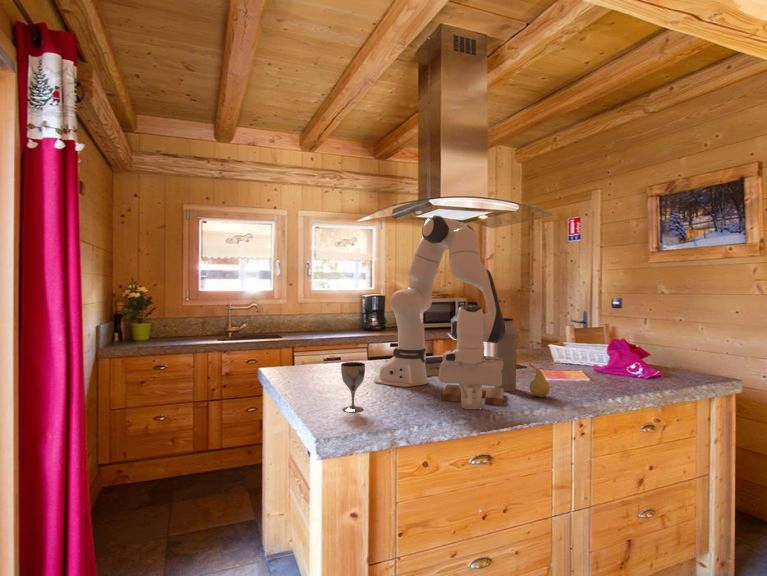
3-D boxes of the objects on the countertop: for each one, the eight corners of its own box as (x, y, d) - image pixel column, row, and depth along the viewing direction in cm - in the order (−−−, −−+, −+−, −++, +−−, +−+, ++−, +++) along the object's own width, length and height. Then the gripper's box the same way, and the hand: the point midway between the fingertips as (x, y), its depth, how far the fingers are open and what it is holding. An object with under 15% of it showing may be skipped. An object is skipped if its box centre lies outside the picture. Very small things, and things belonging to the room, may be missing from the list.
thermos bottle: (514, 387, 176) (515, 317, 175) (516, 392, 168) (517, 319, 168) (494, 385, 178) (495, 316, 177) (495, 390, 170) (496, 318, 169)
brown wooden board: (441, 400, 156) (441, 393, 156) (447, 390, 170) (447, 384, 170) (502, 405, 151) (503, 398, 151) (503, 395, 164) (503, 388, 164)
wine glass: (340, 406, 149) (341, 362, 148) (364, 405, 149) (364, 361, 149) (340, 413, 141) (340, 366, 140) (365, 412, 141) (365, 366, 141)
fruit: (547, 400, 157) (548, 367, 157) (526, 397, 161) (526, 364, 161) (551, 396, 163) (551, 364, 162) (530, 393, 167) (531, 361, 166)
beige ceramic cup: (462, 402, 154) (462, 376, 154) (482, 404, 152) (483, 378, 152) (458, 411, 143) (458, 384, 143) (480, 413, 141) (480, 386, 141)
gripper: (503, 355, 142) (503, 397, 143) (440, 352, 148) (440, 392, 148) (503, 358, 136) (502, 403, 137) (437, 355, 142) (437, 397, 142)
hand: (469, 397), depth 143 cm, fingers closed on beige ceramic cup
